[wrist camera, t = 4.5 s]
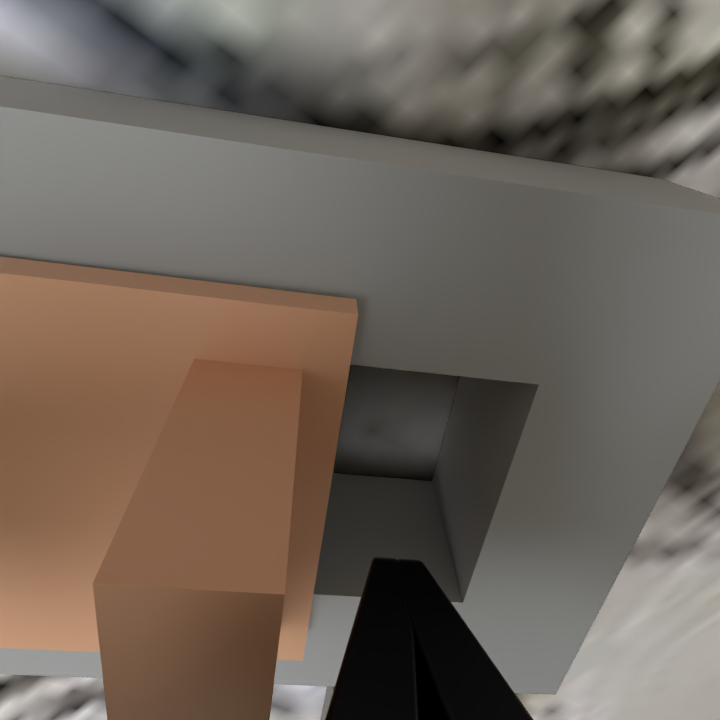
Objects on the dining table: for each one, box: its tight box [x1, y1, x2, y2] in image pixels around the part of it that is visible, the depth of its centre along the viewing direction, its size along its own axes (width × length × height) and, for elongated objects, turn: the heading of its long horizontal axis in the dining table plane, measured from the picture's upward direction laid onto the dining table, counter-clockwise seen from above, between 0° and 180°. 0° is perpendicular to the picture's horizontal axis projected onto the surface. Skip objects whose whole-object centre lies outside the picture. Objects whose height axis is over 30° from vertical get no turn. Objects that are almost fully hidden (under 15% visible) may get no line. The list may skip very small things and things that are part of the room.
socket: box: [0, 76, 720, 694], centre depth 12 cm, size 16×12×4 cm
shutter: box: [0, 256, 358, 720], centre depth 8 cm, size 6×8×5 cm
